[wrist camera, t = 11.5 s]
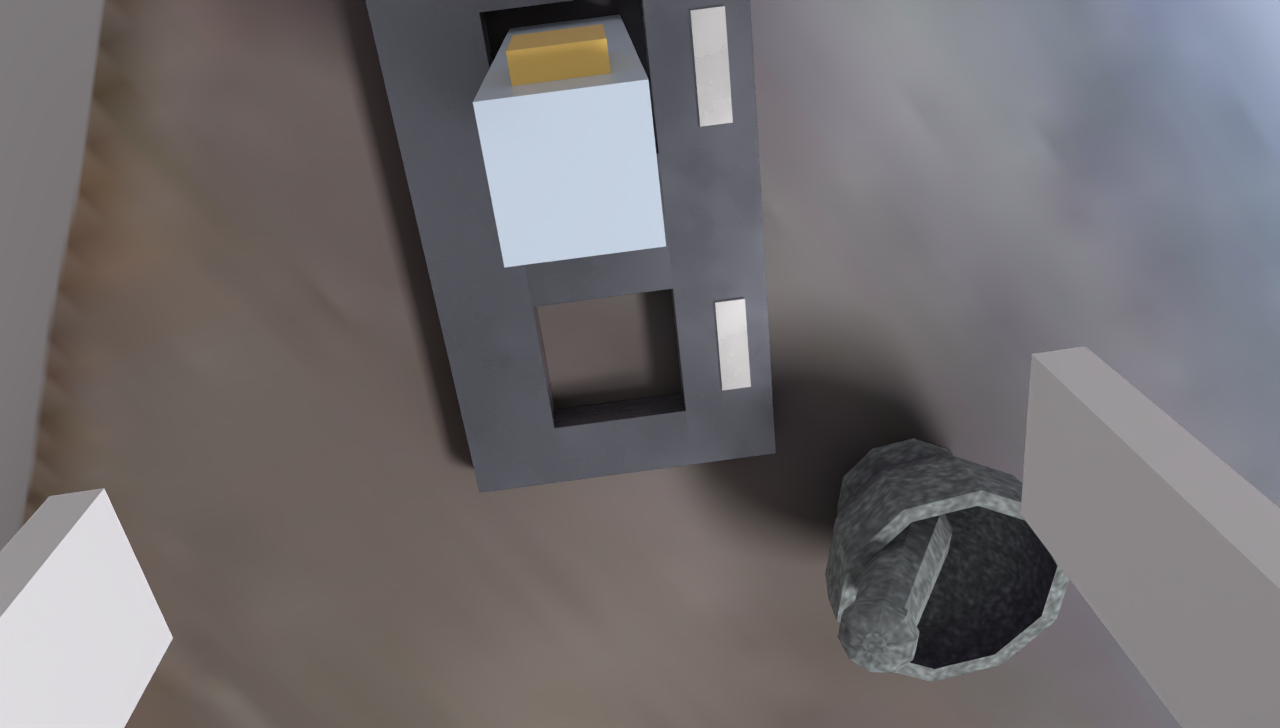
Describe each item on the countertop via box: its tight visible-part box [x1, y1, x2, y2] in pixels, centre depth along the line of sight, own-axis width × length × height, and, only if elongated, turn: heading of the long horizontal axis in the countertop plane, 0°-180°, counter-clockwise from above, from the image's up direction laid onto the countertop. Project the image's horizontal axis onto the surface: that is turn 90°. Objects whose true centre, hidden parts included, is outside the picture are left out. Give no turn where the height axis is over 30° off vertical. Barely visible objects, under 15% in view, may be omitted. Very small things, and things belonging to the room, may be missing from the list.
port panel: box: [365, 0, 776, 493], centre depth 36 cm, size 22×13×2 cm, turn 7°
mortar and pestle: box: [825, 438, 1069, 682], centre depth 38 cm, size 11×9×12 cm
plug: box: [473, 14, 666, 268], centre depth 28 cm, size 4×5×14 cm
